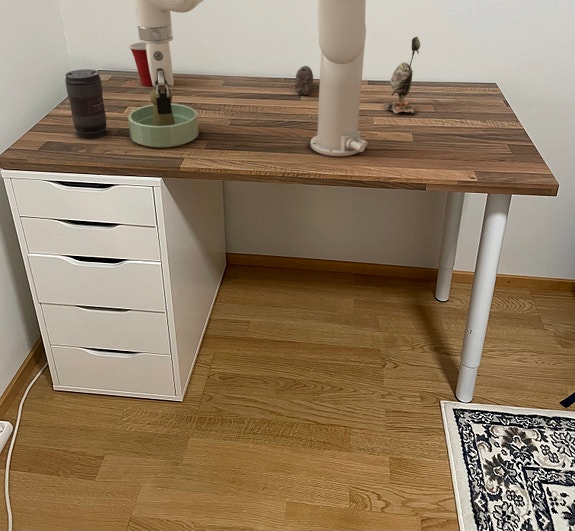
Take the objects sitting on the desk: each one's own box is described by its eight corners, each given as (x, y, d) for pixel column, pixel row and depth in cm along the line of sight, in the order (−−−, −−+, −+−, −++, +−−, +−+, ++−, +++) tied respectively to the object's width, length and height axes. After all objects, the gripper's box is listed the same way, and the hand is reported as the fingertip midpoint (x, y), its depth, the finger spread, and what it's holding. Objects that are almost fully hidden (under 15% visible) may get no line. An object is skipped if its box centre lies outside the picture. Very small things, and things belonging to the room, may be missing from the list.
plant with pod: (410, 102, 179) (419, 29, 168) (416, 116, 169) (426, 40, 158) (382, 102, 179) (389, 29, 168) (386, 115, 169) (394, 39, 158)
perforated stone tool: (298, 82, 193) (298, 59, 189) (314, 83, 193) (315, 60, 189) (293, 97, 181) (293, 73, 177) (311, 98, 180) (312, 74, 176)
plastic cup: (158, 76, 196) (154, 37, 190) (176, 84, 189) (172, 44, 183) (126, 82, 190) (121, 42, 184) (144, 91, 183) (139, 49, 177)
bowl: (212, 137, 154) (210, 116, 151) (153, 155, 144) (151, 132, 141) (174, 119, 164) (173, 99, 161) (118, 134, 155) (115, 113, 152)
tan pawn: (179, 129, 156) (176, 86, 150) (173, 138, 151) (169, 94, 145) (156, 128, 157) (151, 85, 151) (149, 137, 152) (144, 93, 146)
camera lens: (106, 126, 159) (97, 67, 151) (110, 137, 153) (101, 76, 145) (73, 129, 157) (62, 69, 149) (76, 141, 151) (65, 79, 142)
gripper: (174, 41, 134) (182, 117, 144) (170, 24, 149) (177, 94, 158) (139, 43, 133) (149, 120, 142) (138, 25, 147) (147, 97, 157)
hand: (164, 106), depth 150 cm, fingers open, 9 cm apart
